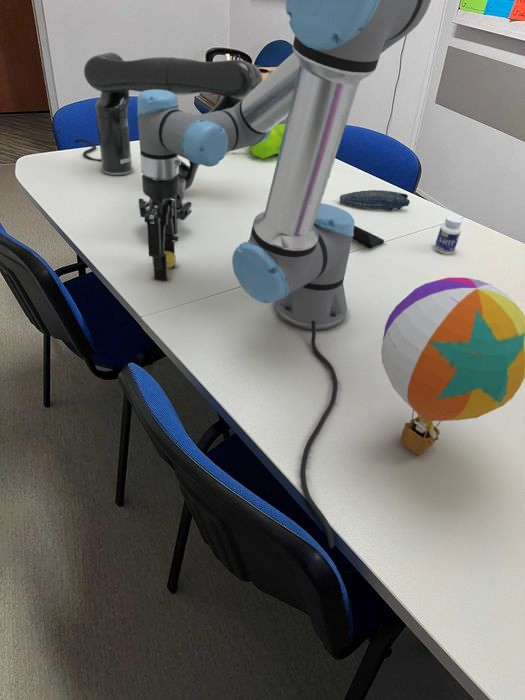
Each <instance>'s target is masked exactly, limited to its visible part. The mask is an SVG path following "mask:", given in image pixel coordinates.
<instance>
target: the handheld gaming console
mask: <svg viewBox="0 0 525 700" xmlns="http://www.w3.org/2000/svg"><path fill="white" fill-rule="evenodd" d="M353 234H354V236H353V238H352V241H355V242H356V243H358V244H360V245H361V246H364V247H366V248H368V249H369V250H371V249H373V248H375V247H378V246H381V245H383V244H385V243H384V242H385V239H383V238H381V237H379V236H377V235H375V234H373V233H372V232H369V231H367V230H365V229H362V228H361V227H358V226H357V225H355V224H354V230H353Z"/></svg>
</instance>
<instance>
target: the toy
mask: <svg viewBox="0 0 525 700" xmlns="http://www.w3.org/2000/svg"><path fill="white" fill-rule="evenodd" d="M381 343H382V344H381V351H380V355H381V363H382V366H383V369H384V371H385V374H386V375H387V378H388V380H389V382H390V384H391V386H392V388H393V389H394V391H395V392H396V393H397V395H399V397H400V398H401V399H402V400H403V401H404V402H405V403H406V404H407V405H408V406H409V407H410V408H411V409H412V414H411V418H410V421H409V422H405V423H404V427H403V428H402V432H401V437H400V443H401V444H402V445H403V446H404V447H406V449H408V450H410V451H411V452H412V453H413V454H415V455H416V456H422V455H423V454H424V453H425V452H427V451H428V450H429V449H430V448H431V447H433V446H434V444H435V443H436V441H439V435H440V430H439V428H438V426H440V424H441V422H451V421H453V422H454V421H463V420H470V419H477V418H480V417H482V416H484V415H486V414H488V413H490V412H493V411H495V410H497V409H499V408H501V407H504V406H505V405H506V404H507V403H508V402H509V401H511V400H512V399H513V398H514V397H515V395H516V393H517V392H518V391H519V389H520V388H521V386H522V384H523V383H524V381H525V313H524V312H523V311H522V309H521V308H520V307H519V306H518V305H517V304H516V302H514V300H513V299H512V298H511V297H510V296H509V295H508V293H506V292H504V291H502V290H501V289H499V288H498V287H496V286H494V285H493V284H490V283H488V282H485V281H483V280H479V279H475V278H469V277H445V278H440V279H437V280H433V281H430V282H426V283H424V284H422V285H420V286H418V287H416V288H414V289H413V290H412V291H411V292H410V293H409V294H407V296H405V298H403V299H402V300H401V301H400V302H398V304H397V305H396V306H394V308H393V310H392V311H391V312H390V314H389V316H388V318H387V320H386V322H385V325H384V331H383V338H382V342H381ZM414 412H416V414H417V416H416V417H414V414H415V413H414ZM433 422H438V423H437V425H436V426H435V424H434V423H433Z"/></svg>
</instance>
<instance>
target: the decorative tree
mask: <svg viewBox="0 0 525 700" xmlns="http://www.w3.org/2000/svg"><path fill="white" fill-rule="evenodd" d="M285 125H286V123H278V124H277V125H276V126H274V127H273V128H272V129H271V132H270V134H269V137H268V138H267V139H266V140H265V141H263V142H260V143H258V144H257V145H255V146H249V150H250V151H251V154H252V155H253V156H255V157H257V158H260V159H262V160H264V159H268V158H269V157H272V156H274V155H279V150H280V146H281V142H282V138H283V134H284V129H285Z"/></svg>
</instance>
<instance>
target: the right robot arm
mask: <svg viewBox="0 0 525 700" xmlns="http://www.w3.org/2000/svg"><path fill="white" fill-rule="evenodd" d="M431 2H432V0H285V12H286V15H288V16H289V21H288V23H289V27H290V30H291V31H292V32H293V35H294V38H293V42H292V43H293V44H292V51H293V52H292V53H291V54H290V55H289V56H288V57H286V59H285V60H283V61H282V62H281V63H280V64H279V65H278V66H277V67H275V68H274V70H273V71H272V72H270V73H269V74H268V75H267V76H266V77H265V78H264V79H263V81H262V82H261V83H259V84H258V85H257V86H256V87H255V88H254V89H253V90H252V91H251V92H250V93H248V94H247V95H246V96H245V97H244V98H243V99H242V100H241V101H240V102H239V103H237V104H236V105H235V106H234V107H232V108H229V109H224V110H220V111H215V112H210V111H209V112H210V113H209V112H205V113H201V114H192V113H191V114H190V113H187V112H185V111H183V110H181V109H179V102H178V96H177V95H175V94H174V93H172V92H170V91H166V90H156V89H155V90H146V91H143V92H139V94H138V95H137V103H136V104H137V105H136V106H137V114H136V117H137V127H138V139H139V150H140V151H139V155H140V171H141V174H142V175H141V181H142V182H141V183H142V185H141V186H142V192H143V194H144V195H145V196H147V197H148V198H149V199H150V198H151V200H152V201H151V203H150V211H151V214H146V221H147V222H146V225H147V226H146V228H147V244H148V245H147V246H148V247H147V249H148V252H147V253H148V257H151V258H152V257H153V261H154V265H153V275H154V280H156V281H164V282H167V280H168V272H167V271H168V270H167V269H168V268H167V266H166V254H164V251H170V252H172V253H174V254H175V253H176V252H175V242H178V241H179V236H176V235H178V219H177V212H176V198H177V195H178V194H179V176H178V175H177V174H178V173H179V165H181V161H182V160H181V159H180V160H181V161H180V160H178V158H179V157H181V158H183V159H185V160H187V161H188V160H189V161H191V162H193V163H196V164H200V166H204V167H209V168H211V167H214V166H217V165H219V163H220V162H221V161H222V160H224V158H225V156H226V154H227V153H229V152H232V151H233V152H234V151H238V150H240V149H245V148H248V147H249V146H255V145H257V144H258V143H260V142H263V141H265V140H266V139H267V138H268V137H269V134H270V132H271V129H272V128H273V127H274V126H276V125H277V124H281V122H282V121H284V120H285V119H286V121H285V124H286V125H285V129H284V134H283V138H282V142H281V146H280V150H279V154H277V159H276V162H275V163H276V164H275V166H274V167H275V168H274V172H273V177H272V180H271V184H270V189H269V193H268V196H267V197H268V198H267V201H266V206H265V210H264V211H261V212H259V213H258V214H257V215H256V216H255V217H254V219H253V222H252V226H251V229H250V230H251V231H250V234H249V239H247V241H244V242H241V243H240V244H239V245H238V246H237V247H236V248H235V249H234V251H233V253H232V259H231V262H232V263H231V264H232V268H233V273H234V275H235V278H236V279H237V282H238V283H239V286H240V287H241V288H242V289H243V290H244V292H245V293H246V294H247V295H248V296H249V297H251V298H252V299H253V300H255V301H257V302H260V303H262V304H273V303H275V311H276V313H277V315H278V316H279V317H280V318H281V319H282V320H283V321H284V322H286V323H287V324H289V325H291V326H293V327H296V328H300V329H304V330H310V331H311V343H310V344H311V347H312V350H313V352H314V353H315V355H316V356H317V357H318V359H320V361H322V362H323V363H324V364H325V365H326V367H327V368H328V369H329V372H330V374H331V378H332V395H331V398H330V400H329V404H328V406H327V408H326V409H325V411H324V413H323V414H322V416H321V418H320V419H319V421H318V423H317V425H316V426H315V429H314V430H313V431H312V432H311V435H310V436H309V438H308V440H307V442H306V444H305V447H304V448H303V453H302V457H301V462H300V469H299V470H300V471H299V472H300V473H299V474H300V484H301V488H302V492H303V495H304V497H305V500H306V502H307V504H308V505H309V506H310V509H312V511H313V512H314V513H315V514H316V516H317V517H318V518H319V520H320V521H321V524H322V525H323V527H324V530H325V532H326V536H327V537H326V538H327V542H328V546H329V548H331V549H333V548H334V547H335V539H334V534H333V531H332V529H331V526H330V524H329V520H328V519H327V518H326V516H325V515H324V513H323V512H322V511H321V509H320V508H319V507H318V506H317V504H316V503H315V502H314V499H313V498H312V497H311V494H310V492H309V488H308V484H307V483H308V482H307V477H306V476H307V475H306V468H307V460H308V456H309V452H310V449H311V446H312V444H313V442H314V440H315V438H316V437H317V436H318V434H319V432H320V431H321V429H322V427H323V425H324V423H325V421H326V419H327V417H328V416H329V414H330V412H332V409H333V407H334V405H335V403H336V400H337V395H338V387H339V386H338V378H337V374H336V371H335V369H334V367H333V366H332V364H331V362H330V361H329V360H328V359H326V357H324V356H323V354H322V353H321V352H320V351H319V349H318V348H317V345H316V336H317V334H316V332H317V331H324V330H325V331H326V330H329V329H333V328H336V327H337V326H339V325H340V324H342V323H343V322H344V320H345V318H346V315H347V310H348V309H347V308H348V307H347V306H348V305H347V297H346V292H345V286H344V280H345V275H346V271H347V267H348V262H349V257H350V253H351V252H350V251H351V247H352V242H353V239H352V238H353V236H354V234H353V230H354V225H355V219H354V217H353V215H352V214H350V213H349V212H348V211H346V210H345V209H343V208H340V207H338V206H335V205H332V204H327V203H324V202H323V203H322V200H323V197H324V195H325V191H326V187H327V185H328V182H329V179H330V176H331V173H332V170H333V166H334V163H335V160H336V157H337V154H338V150H339V148H340V144H341V141H342V139H343V135H344V132H345V128H346V126H347V123H348V120H349V117H350V113H351V110H352V108H353V105H354V101H355V98H356V95H357V91H358V90H359V89H358V88H359V85H360V83H361V81H362V80H364V79H365V78H367V77H369V76H370V75H372V74H374V73H375V71H376V69H377V66H378V63H379V60H380V57H381V55H382V54H383V53H384V52H386V51H387V50H388V49H389V48H391V47H392V46H393V45H395V44H396V43H398V42H399V41H400V40H402V39H403V38H404V37H406V36H407V35H409V34H410V33H411V32H413V30H414V29H415V28H416V27H418V25H419V24H420V23H421V21H422V20H423V19H424V17H425V15H426V14H427V12H428V9H429V7H430V5H431ZM249 148H250V147H249ZM189 161H188V162H189ZM175 255H176V254H175ZM175 268H176V264H175V265H174V266H173V267H170V268H169V269H175Z"/></svg>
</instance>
